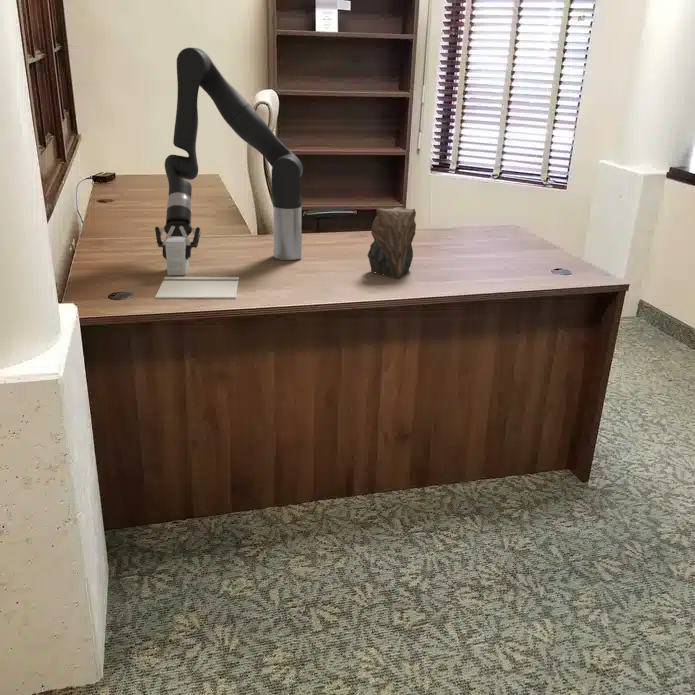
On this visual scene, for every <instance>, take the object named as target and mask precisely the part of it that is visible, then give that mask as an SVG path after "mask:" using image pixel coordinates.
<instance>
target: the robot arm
mask: <svg viewBox="0 0 695 695" xmlns="http://www.w3.org/2000/svg"><path fill="white" fill-rule="evenodd" d="M176 78H177V81H176V82H177V94H176V95H177V99H176V112H175V121H174V122H175V123H174V129H173V130H174V132H173V141H172V142H173V146H174V147H175V148H178V149H181V150H182V151H185V152H186V153H187V154H188V156H184V155H179V154H178V155H177V154H169V155H168V156H167V157H166V158H165V160H164V171H165V174H166V178H167V182H168V198H167V202H166V203H167V204H166V217H165V225H164V227H159V226H156V227H155V228H154V231H155V237H156V238H155V239H156V244H157V246H158V247H159V248H162V256H163V259H165V260H166V247H165V242H166V240H167V238H168V237H171V236H183V237H184V238H186V244H187V246H186V251H185V258H186V260H188V261H189V259H190V258H191V256H192V255H191V254H192V249H194V248H197V247H198V246H199V241H200V238H201V228H200V226H199V227H198V226H197V227H196V228H195V227H192V212H193V208H192V206H193V204H192V193H193V192H192V189H193V188H192V184H191V183H190V182H189V181H188V180H190V181H191V180H194V179H196V178H197V176H198V174H199V164H198V158H197V148H196V147H197V137H198V129H199V127H198V126H199V115H198V113H199V112H198V110H199V109H198V100H199V99H198V97H199V96H198V95H199V89H200V88H202V90H203V91H204V92H205V93H206V95H208V96H209V97H210V99H211V100H212V102H213V104H214V105H215V106H216V109H217V110H218V112H219V114H220V115H221V117H222V118H223V120H224V121H225V123H226V124H227V125H228V126H229V127H230V128H231V129H232V131H233V132H234V133H235V134H236V135H237V136H238V137H239V138H240V139H241V140H243V141H244V142H246V143H247V144H248V145H249V146H251V147H252V148H254V149H255V150H256V151H257V152H259V153H260V154H261V155H262V156H263V158H265V160H266V161H267V162H268V163H269V165H270V166H271V197H272V202H273V204H272V206H273V207H272V208H273V209H272V210H273V211H272V213H273V215H272V216H273V257H274V259H276V260H281V261H296V260H302V237H303V236H302V195H301V178H302V175H303V172H304V167H303V164H302V161H301V160H300V159H299V157H297V155H296V154H294V153H293V152H292V151H291V150H290V149H289V148H288V147H287V146H286V145H285V144H284V143H283V142H282V141H280V140H279V138H278V137H277V136H276V134H275V133H273V131H272V130H271V129H270V127H269V126H268V124H267V123H266V122H265V121H264V119H263V118H262V117H261V116H260V114H259V113H258V112H257V111H256V109H255V108H254V107H253V106H252V105H251V104H250V103H249V102H248V101H247V100H246V99H245V98H244V97H243V96H242V94H240V93H239V91H237V89H235V87H233V85H231V83H230V82H228V81H227V79H226V78H225V77H224V76H223V74H222V73H221V72H220V70H219V69H218V68H217V66H216V64H215V63H214V62H213V61H212V59H211V58H210V56H209V55H208V54H207V53H206V51H204V50H203V49H201V48H199V47H198V48H197V47H186V48H183V49H181V50H180V52H179V53H178V55H177V57H176ZM164 232H165V233H166V236H165V239H164V240H163V241H162V236H163V235H164ZM191 233H192V234H193V238H192V241H190V239H189V236H190V235H191Z"/></svg>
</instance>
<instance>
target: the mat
mask: <svg viewBox="0 0 695 695" xmlns="http://www.w3.org/2000/svg"><path fill="white" fill-rule="evenodd" d="M239 281H240V277H239V276H164V278H163V280H162V282H161V283H160V286H159V287H158V290H157V293H156V294H155V296H154V298H155V299H156V300H157V299H159V300H160V299H162V300H163V299H172V300H173V299H174V300H175V299H176V300H177V299H178V300H179V299H182V300H183V299H190V300H192V299H193V300H194V299H197V300H198V299H208V300H209V299H214V300H215V299H218V300H219V299H225V300H226V299H228V300H229V299H233V300H234V299H237V293H238V286H239Z"/></svg>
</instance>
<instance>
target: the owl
mask: <svg viewBox="0 0 695 695" xmlns="http://www.w3.org/2000/svg"><path fill="white" fill-rule="evenodd" d="M375 212H376V216H375V218H374V220H373V221H372V226H371V236H372V237H373V242H372V243H371V244H370V245H369V247H370V248H369V250H368V253H367V258H368V262H369V266H370V272H371V271H372V272H371V273H373V272H376V273H375V274H377V273H380V274H384V275H383V276H385V275H387V276H386V277H389V276H390V277H389V278H393V277H394V279H398V280H401V279H402V278H403V277H404V276H405V275H406V274H407V271H408V272H409V271H410V268H411V266H412V262H413V257H414V252H413V251H414V250H413V245H412V243H413V240H414V238H415V236H416V228H417V223H416V221H415V217H416V214H417V212H416V209H415V208H413V209H409V208H405V207H400V206H398V207H394V208H381V207H380V208H376V209H375ZM405 273H406V274H405ZM380 274H379V275H380ZM403 275H404V276H403ZM401 277H402V278H401ZM400 278H401V279H400Z"/></svg>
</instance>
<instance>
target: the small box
mask: <svg viewBox="0 0 695 695" xmlns="http://www.w3.org/2000/svg"><path fill="white" fill-rule="evenodd" d="M186 246H187V244H186V238H184V237H183V236H171V237H168V238H167V240H166V242H165V247H166V259H165V260H166V270H167V272H166V273H167V276H186V275H187V272H188V269H189V267H190V266H189V259H188V260H186V258H185V251H186Z"/></svg>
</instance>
